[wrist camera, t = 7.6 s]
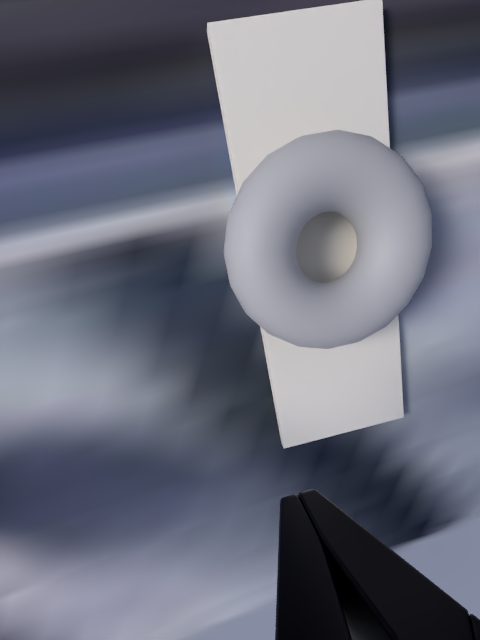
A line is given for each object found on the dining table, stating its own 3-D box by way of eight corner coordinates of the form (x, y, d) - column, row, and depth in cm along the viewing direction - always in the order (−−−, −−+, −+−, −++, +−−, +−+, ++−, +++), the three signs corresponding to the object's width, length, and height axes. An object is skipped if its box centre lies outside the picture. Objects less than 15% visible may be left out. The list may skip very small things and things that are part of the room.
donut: (190, 167, 12) (431, 81, 13) (189, 182, 15) (380, 113, 16) (272, 391, 15) (464, 313, 15) (256, 363, 18) (415, 299, 19)
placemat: (281, 442, 20) (283, 448, 20) (207, 31, 14) (207, 22, 14) (397, 412, 21) (403, 417, 21) (374, 6, 15) (382, -3, 14)
